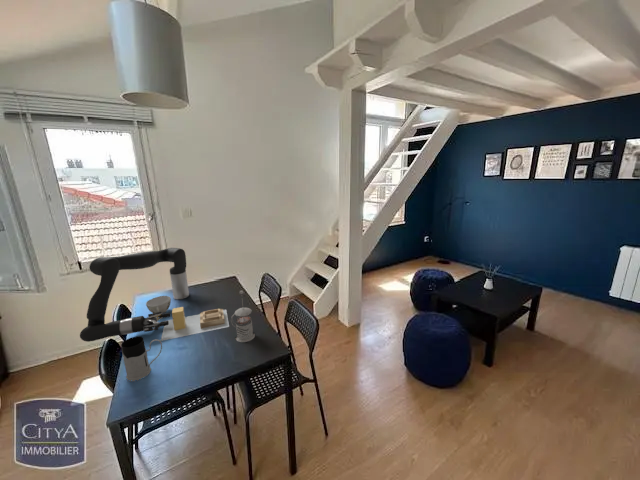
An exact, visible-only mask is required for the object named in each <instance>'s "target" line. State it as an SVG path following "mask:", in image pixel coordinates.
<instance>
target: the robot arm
mask: <svg viewBox="0 0 640 480" xmlns="http://www.w3.org/2000/svg"><path fill="white" fill-rule="evenodd" d="M186 257H187V256H186V252H185V250H184V249H183V248H178V247H168V248H165V249H160V250H151V251H149V250H148V251H140V252H136V253H135V252H134V253H128V254H126V255H119V256H107V257H105V256H101V257H97V258H95V259H93V260H92V261H91V262H90V264H89V266H88V267H89V271H90V272H91V273H93V274H94V275H96V276H100V282H99V285H98V287H97V289H96V291H95V292H94V294H93V295H92V297H91V298H90V300H89V303H88V307H87V311H86V319H87V326H85V327H84V328H83V329H82V330H81V331H80V333H79V338H80V340H82V341H84V342H94V341H99V340H101V339H102V340H103V339H106V338H110V337H115V336H122V335H129V334H134V333H135V334H136V333H140V332H144V333H146V332H151V331H158V330H159V328H161V327H164V326H166V325H168V324H169V322H168V321H167V320H164V321H160V322H159V320H161V319H165V318H170V317H171V316H172V315H171V312H165V313H161V312H157V313H152V312H151V313H149V314H147V316H148V317H145V316H144V315H138V316H133V317H128V318H125V319H120V320H114V321H110V322H107V323H106V321H105V316H106V313H107V307H108V303H109V299H110V295H111V294H112V293H111V292H112V290H113V288H114V285H115V283H116V280H117V277H118V275H119V272H120V271H123V270H125V271H126V270H129V271H130V270H141V269H148V268H151V267H154V266H156V265H157V264H159V263H163V262H164V263H165V262H166V263H168V262H169V263H173V266H172V267H170V269H169V276H170V282H171V290H172V296H173V299H174V300H183V299H186V298H189V296H190V292H189V284H188V278H187V272H186V271H187V270H186V269H187V258H186Z"/></svg>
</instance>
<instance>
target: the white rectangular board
mask: <svg viewBox="0 0 640 480" xmlns="http://www.w3.org/2000/svg"><path fill="white" fill-rule="evenodd" d="M227 312H228V311H227V309H223V314H224V321H225V324H221V325H216V326H211V327H206V328H201V327H200V313H199V314H194V315H189V316H185V322H186V326H185V328H184V329H179V330H174V323H173V318H172V319H168V320H166V321H168V322H169V324H168V325H166V326H163V329H162V333H161V338H160V341H161V342H162V341H167V340H172V339H178V338H183V337H186V336H191V335H197V334H202V333H205V332H211V331H215V330H220V329H225V328H226V329H227V328H229V327H230V324H229V318H228V317H229V316H228V313H227Z"/></svg>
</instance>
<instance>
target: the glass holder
mask: <svg viewBox="0 0 640 480" xmlns="http://www.w3.org/2000/svg"><path fill="white" fill-rule="evenodd" d="M153 342H159V343H160V350H159V353H158V354H157V356H155V358H153V359H152V360H151V361H150V362H149V358H148V353H147V352H149V351H151V348H152V347H151V344H152V343H153ZM162 343H163V342H162V341H161V339H152V340H151V341H150V342H149V346H148V347H149V349H147V348H146V346H145V345H146V344H145V340H144V337H142V336H133V337H132V336H131V337H129V338H127V339H125V340H124V341H122V342H121V345H120V346H121V353H122V357H123V358H122V359H123V363H124V368H125V372H126V377H125V378H127V379H128V380H130V381H129V382H136V381H135V380H137V381H140V380H142V379H141V378H143V377H144V378H146V377H148V376H149V375H150V373H151V372H152V368H151V365H152V364H153V363H154V361H156V360H157V359H158V357H159V356H160V355H161V353H162V349H163V344H162ZM150 371H151V372H150ZM145 376H146V377H145ZM144 378H143V379H144ZM127 379H126V380H127ZM139 379H140V380H139ZM128 380H127V381H128ZM131 380H132V381H131Z"/></svg>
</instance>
